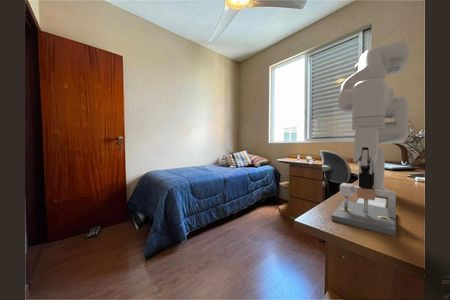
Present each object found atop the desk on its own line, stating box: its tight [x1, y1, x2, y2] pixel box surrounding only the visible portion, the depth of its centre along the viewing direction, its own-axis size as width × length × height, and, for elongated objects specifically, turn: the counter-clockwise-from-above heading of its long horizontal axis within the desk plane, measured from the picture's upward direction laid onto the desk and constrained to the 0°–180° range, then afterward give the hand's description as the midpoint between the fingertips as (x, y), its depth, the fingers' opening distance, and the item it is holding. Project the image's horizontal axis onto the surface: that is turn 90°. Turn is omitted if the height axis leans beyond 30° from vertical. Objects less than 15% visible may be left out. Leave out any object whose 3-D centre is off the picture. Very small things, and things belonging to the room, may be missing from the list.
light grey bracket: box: [339, 182, 397, 219], centre depth 55 cm, size 5×13×8 cm, turn 47°
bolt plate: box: [330, 200, 397, 237], centre depth 56 cm, size 18×14×2 cm
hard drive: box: [356, 196, 388, 208], centre depth 68 cm, size 2×8×12 cm
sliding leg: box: [356, 168, 376, 214], centre depth 54 cm, size 3×4×14 cm
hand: (366, 185), depth 54 cm, fingers open, 3 cm apart
